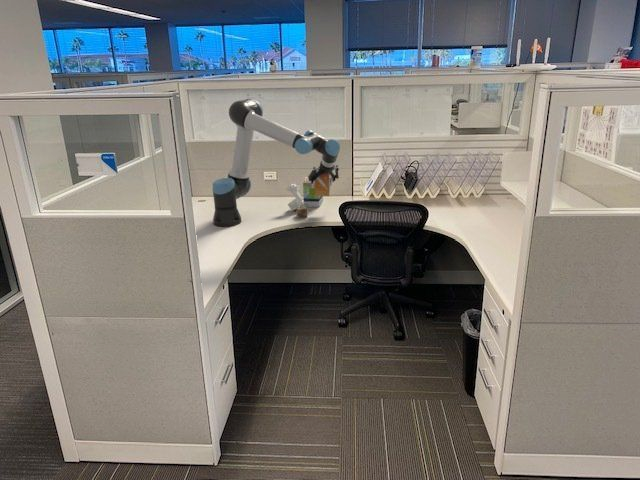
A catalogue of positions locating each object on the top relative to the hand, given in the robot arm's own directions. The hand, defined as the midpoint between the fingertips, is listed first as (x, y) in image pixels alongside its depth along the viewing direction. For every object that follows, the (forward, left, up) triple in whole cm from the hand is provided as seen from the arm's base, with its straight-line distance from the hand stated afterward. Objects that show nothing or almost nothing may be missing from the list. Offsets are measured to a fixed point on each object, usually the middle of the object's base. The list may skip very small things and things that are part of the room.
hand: (321, 184), depth 266 cm
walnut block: (-13, -6, -16) cm, 21 cm away
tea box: (-1, +17, -16) cm, 23 cm away
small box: (0, -3, -5) cm, 6 cm away
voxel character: (-14, +7, -16) cm, 22 cm away
